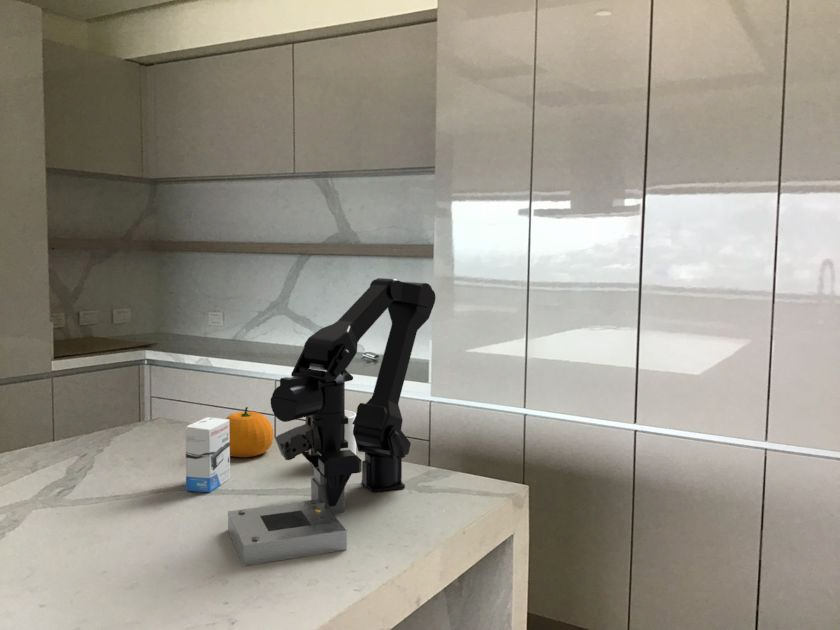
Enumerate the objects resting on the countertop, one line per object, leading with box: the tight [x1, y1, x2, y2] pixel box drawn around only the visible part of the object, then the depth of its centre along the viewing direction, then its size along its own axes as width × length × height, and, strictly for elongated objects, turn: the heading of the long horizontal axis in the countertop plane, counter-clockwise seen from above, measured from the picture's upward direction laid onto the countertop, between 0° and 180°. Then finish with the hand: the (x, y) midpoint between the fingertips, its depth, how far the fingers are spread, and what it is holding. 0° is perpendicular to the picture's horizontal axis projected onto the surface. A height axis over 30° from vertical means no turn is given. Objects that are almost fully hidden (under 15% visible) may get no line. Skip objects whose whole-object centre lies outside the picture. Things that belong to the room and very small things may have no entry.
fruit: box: [225, 406, 275, 458], centre depth 158 cm, size 12×12×10 cm
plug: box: [310, 467, 345, 515], centre depth 126 cm, size 4×4×7 cm
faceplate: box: [227, 499, 348, 567], centre depth 114 cm, size 15×14×4 cm
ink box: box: [184, 416, 231, 493], centre depth 138 cm, size 8×5×12 cm, turn 168°
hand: (327, 500), depth 127 cm, fingers open, 5 cm apart
